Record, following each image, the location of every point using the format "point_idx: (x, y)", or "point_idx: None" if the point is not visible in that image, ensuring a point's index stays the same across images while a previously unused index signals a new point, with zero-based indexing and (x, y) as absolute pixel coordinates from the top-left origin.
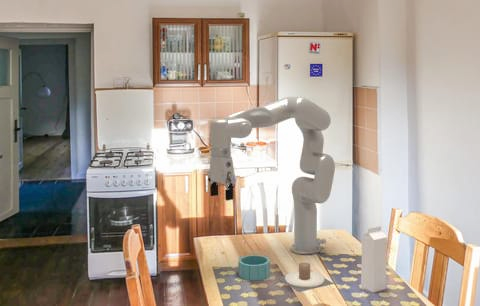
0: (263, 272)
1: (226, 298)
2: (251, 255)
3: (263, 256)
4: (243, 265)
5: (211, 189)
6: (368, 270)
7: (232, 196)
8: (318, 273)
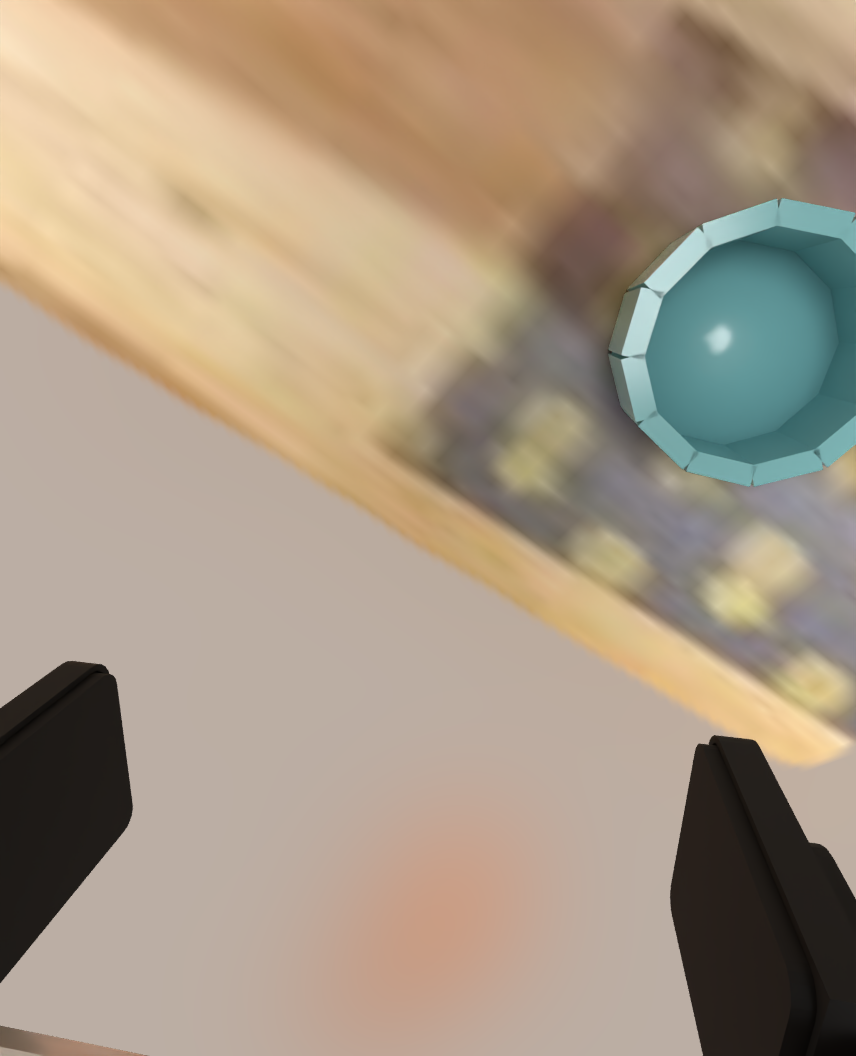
0: None
1: (846, 704)
2: (657, 285)
3: (764, 216)
4: (762, 481)
5: (19, 949)
6: None
7: (829, 858)
8: None
